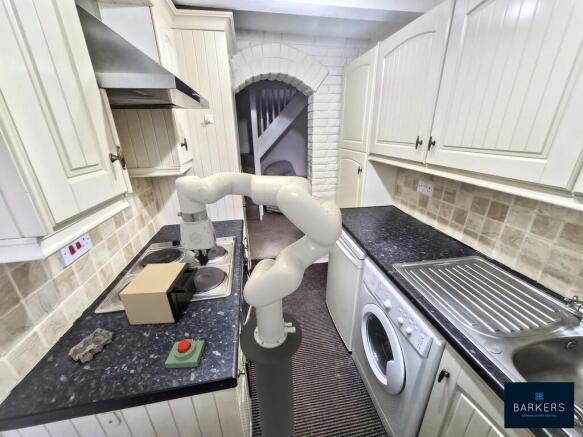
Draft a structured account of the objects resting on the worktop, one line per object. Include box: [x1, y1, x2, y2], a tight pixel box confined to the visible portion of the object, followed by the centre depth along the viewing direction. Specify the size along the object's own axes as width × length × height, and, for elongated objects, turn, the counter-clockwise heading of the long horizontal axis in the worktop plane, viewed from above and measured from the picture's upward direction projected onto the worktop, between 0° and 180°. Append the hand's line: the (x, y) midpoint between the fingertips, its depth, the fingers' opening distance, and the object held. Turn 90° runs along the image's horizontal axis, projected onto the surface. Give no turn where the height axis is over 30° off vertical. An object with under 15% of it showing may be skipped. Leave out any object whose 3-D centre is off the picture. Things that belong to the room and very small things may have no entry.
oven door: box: [166, 262, 199, 323], centre depth 97 cm, size 6×20×15 cm, turn 3°
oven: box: [118, 262, 187, 325], centre depth 97 cm, size 17×20×15 cm
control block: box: [164, 338, 206, 369], centre depth 76 cm, size 10×8×4 cm
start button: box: [178, 339, 190, 353], centre depth 75 cm, size 4×4×2 cm
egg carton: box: [68, 327, 114, 364], centre depth 80 cm, size 11×8×4 cm
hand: (204, 263), depth 80 cm, fingers closed
